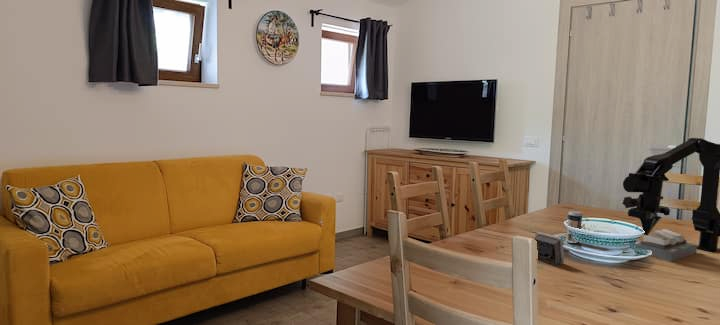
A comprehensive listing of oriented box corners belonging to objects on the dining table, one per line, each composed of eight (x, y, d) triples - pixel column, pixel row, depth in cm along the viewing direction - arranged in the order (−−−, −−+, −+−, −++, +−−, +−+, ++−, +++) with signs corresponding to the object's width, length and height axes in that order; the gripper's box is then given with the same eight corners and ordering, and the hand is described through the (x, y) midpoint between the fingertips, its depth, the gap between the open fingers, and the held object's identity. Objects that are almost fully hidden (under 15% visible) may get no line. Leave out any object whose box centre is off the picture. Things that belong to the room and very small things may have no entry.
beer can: (580, 245, 179) (583, 213, 178) (567, 244, 180) (570, 212, 179) (577, 241, 184) (580, 211, 183) (564, 240, 185) (567, 210, 184)
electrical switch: (564, 264, 157) (565, 236, 155) (556, 268, 154) (556, 240, 152) (538, 256, 164) (539, 230, 162) (530, 260, 161) (530, 233, 159)
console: (660, 244, 184) (661, 233, 184) (696, 253, 175) (697, 241, 174) (634, 252, 173) (635, 240, 173) (671, 261, 163) (672, 249, 163)
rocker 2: (656, 234, 178) (658, 229, 177) (675, 243, 173) (678, 239, 172) (651, 235, 176) (653, 231, 175) (670, 245, 171) (673, 240, 170)
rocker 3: (663, 233, 182) (665, 228, 181) (683, 241, 176) (685, 236, 176) (658, 234, 179) (660, 229, 179) (678, 242, 174) (680, 237, 173)
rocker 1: (648, 239, 175) (649, 233, 175) (669, 243, 169) (670, 238, 169) (643, 240, 173) (643, 235, 172) (664, 245, 167) (664, 239, 167)
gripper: (641, 186, 183) (635, 226, 185) (615, 189, 173) (610, 231, 175) (673, 192, 174) (666, 234, 176) (648, 196, 164) (641, 240, 166)
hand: (645, 234), depth 174 cm, fingers closed, pressing on rocker 1
